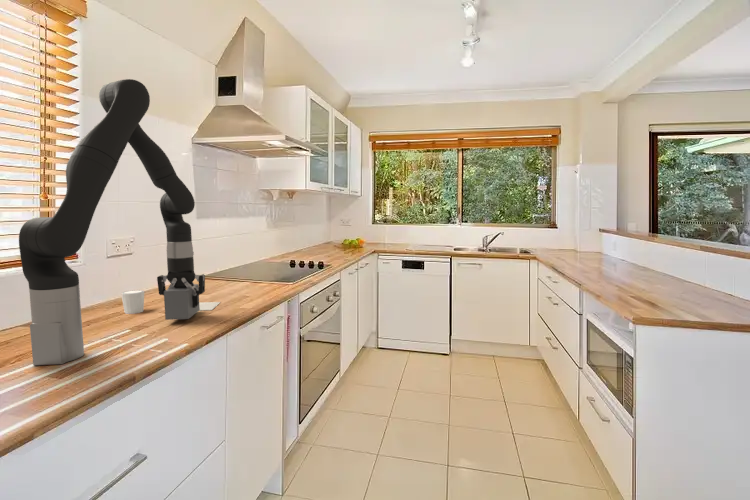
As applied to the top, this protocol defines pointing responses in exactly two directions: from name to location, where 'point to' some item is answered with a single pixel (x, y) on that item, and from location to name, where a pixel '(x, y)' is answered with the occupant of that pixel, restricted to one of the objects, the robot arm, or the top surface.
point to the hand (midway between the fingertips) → (182, 307)
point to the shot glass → (133, 301)
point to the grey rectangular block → (179, 303)
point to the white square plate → (208, 305)
